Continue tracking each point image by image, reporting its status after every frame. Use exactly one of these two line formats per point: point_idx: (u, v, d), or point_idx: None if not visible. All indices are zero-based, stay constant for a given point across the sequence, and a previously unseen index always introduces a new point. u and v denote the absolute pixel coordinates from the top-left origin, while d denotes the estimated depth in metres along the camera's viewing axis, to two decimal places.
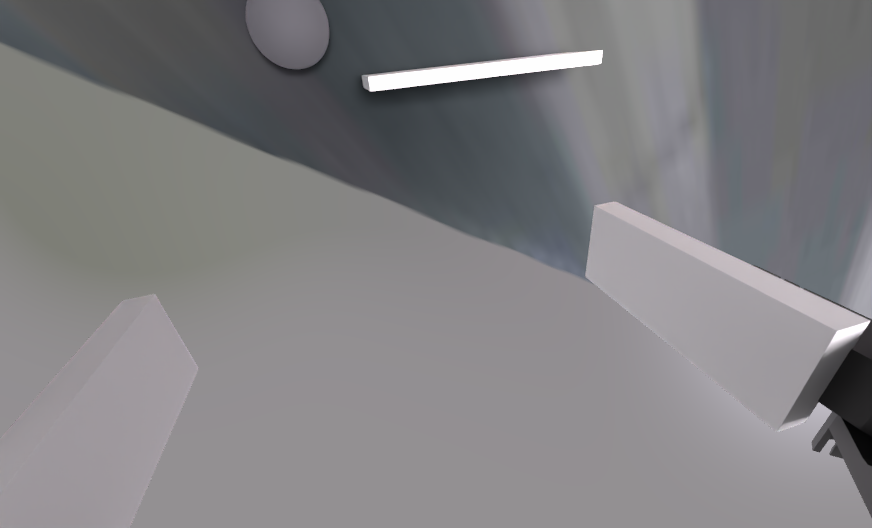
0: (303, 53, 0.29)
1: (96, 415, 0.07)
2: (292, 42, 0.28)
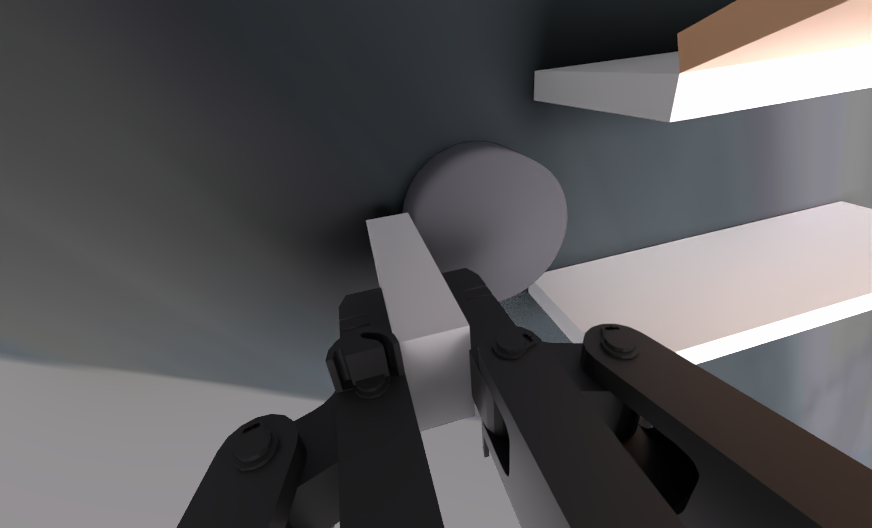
0: (515, 274, 0.14)
1: None
2: (498, 262, 0.14)
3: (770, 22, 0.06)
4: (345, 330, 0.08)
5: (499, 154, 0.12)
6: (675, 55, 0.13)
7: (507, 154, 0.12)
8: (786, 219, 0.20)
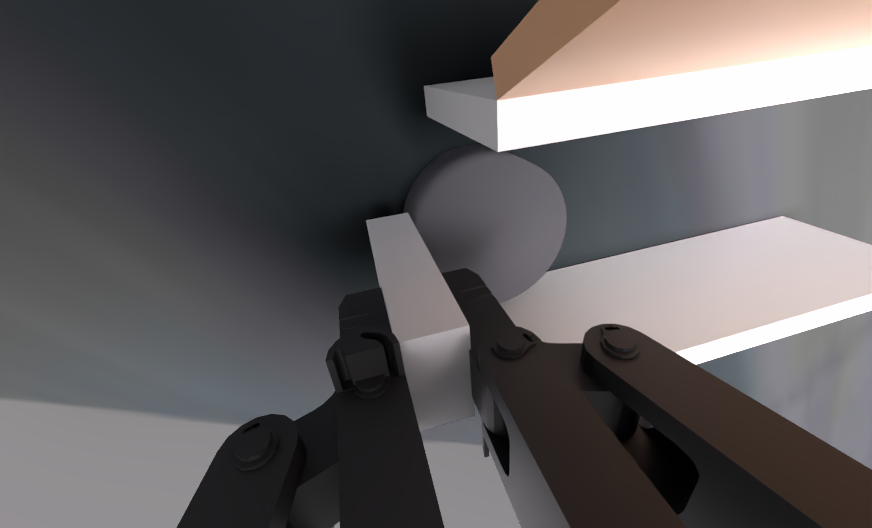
0: (514, 276, 0.15)
1: None
2: (497, 265, 0.14)
3: (539, 50, 0.05)
4: (345, 330, 0.08)
5: (500, 157, 0.12)
6: None
7: (508, 158, 0.12)
8: (722, 235, 0.19)
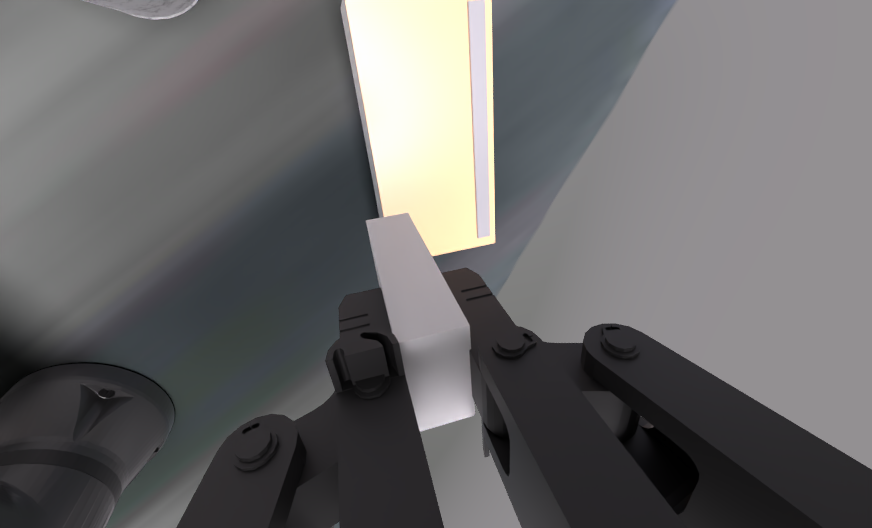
0: None
1: None
2: None
3: None
4: (345, 330, 0.08)
5: None
6: (376, 199, 0.35)
7: None
8: None
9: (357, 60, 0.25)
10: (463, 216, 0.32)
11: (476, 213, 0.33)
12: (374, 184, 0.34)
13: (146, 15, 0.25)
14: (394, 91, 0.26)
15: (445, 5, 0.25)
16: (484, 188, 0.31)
